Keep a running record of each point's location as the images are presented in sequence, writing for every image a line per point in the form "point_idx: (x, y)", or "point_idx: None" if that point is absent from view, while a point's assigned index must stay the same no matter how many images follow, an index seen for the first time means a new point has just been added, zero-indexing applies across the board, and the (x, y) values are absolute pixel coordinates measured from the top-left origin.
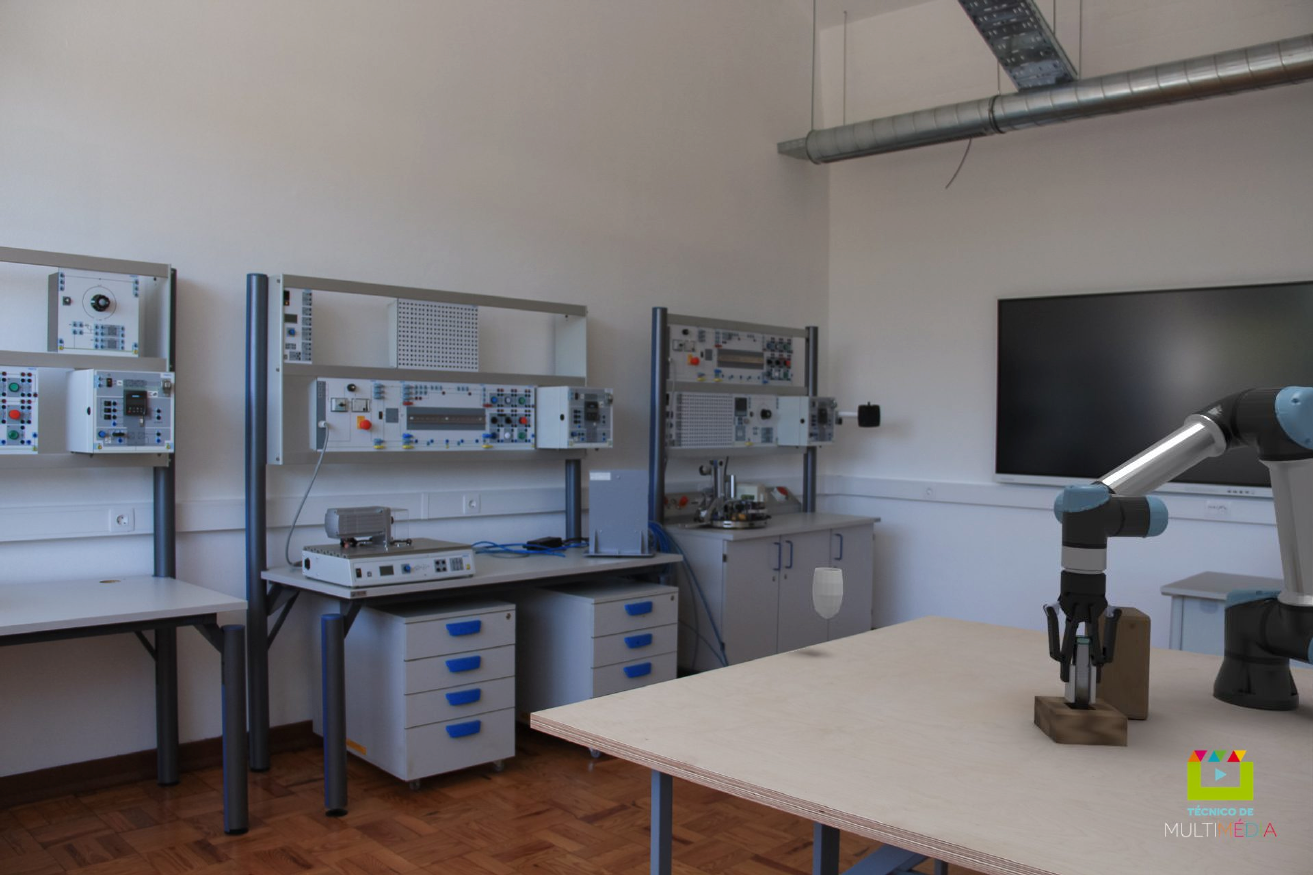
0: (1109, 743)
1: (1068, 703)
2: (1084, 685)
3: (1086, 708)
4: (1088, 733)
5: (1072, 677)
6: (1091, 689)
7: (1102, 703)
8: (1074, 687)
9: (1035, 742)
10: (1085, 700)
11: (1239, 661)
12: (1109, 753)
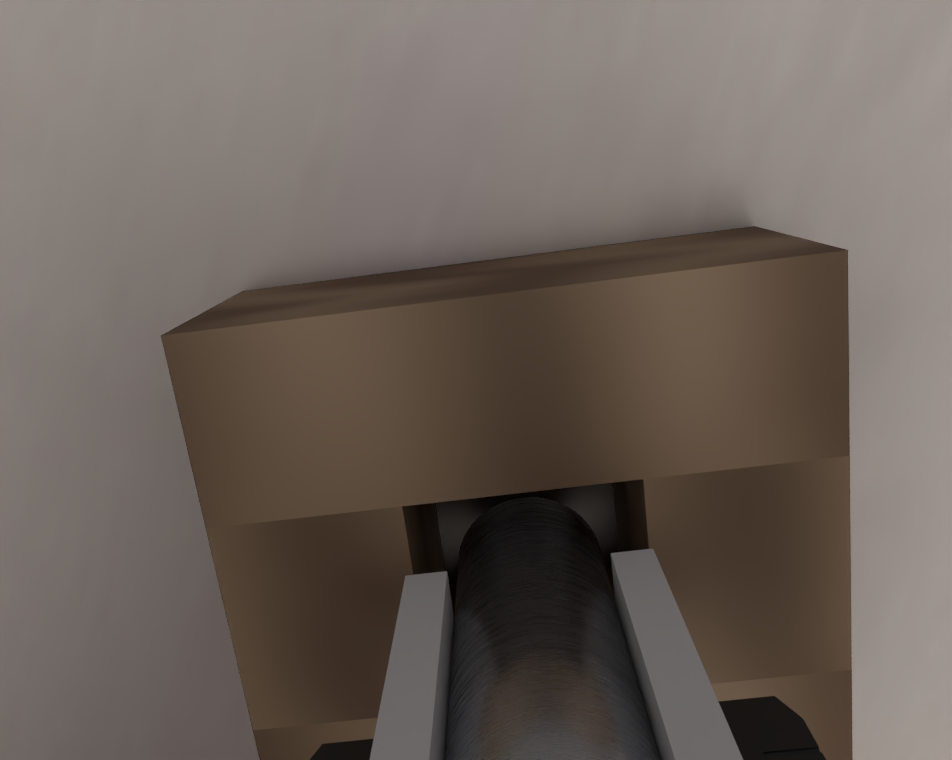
0: (363, 276)
1: None
2: (524, 660)
3: (488, 542)
4: (521, 266)
5: (696, 718)
6: (436, 651)
7: (304, 733)
8: (638, 640)
9: (912, 196)
10: (501, 573)
11: None
12: (411, 57)
